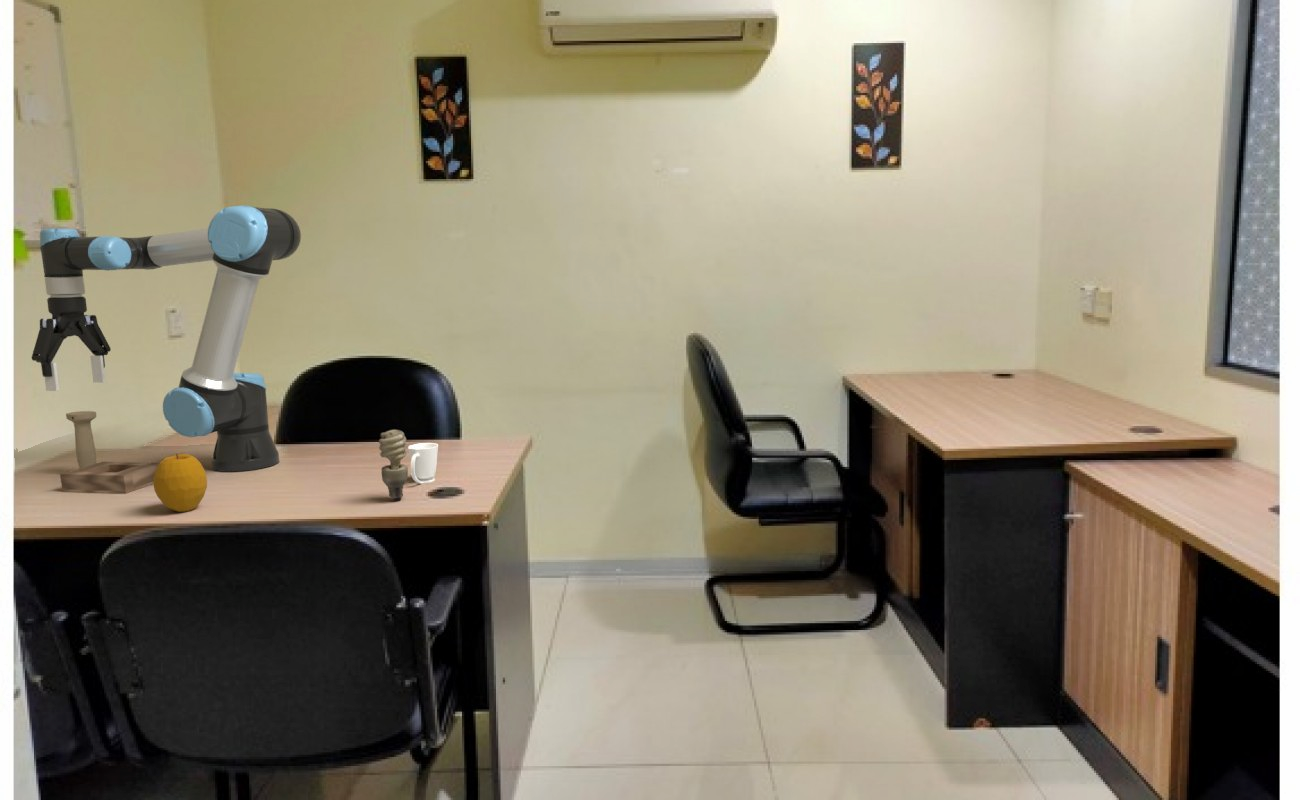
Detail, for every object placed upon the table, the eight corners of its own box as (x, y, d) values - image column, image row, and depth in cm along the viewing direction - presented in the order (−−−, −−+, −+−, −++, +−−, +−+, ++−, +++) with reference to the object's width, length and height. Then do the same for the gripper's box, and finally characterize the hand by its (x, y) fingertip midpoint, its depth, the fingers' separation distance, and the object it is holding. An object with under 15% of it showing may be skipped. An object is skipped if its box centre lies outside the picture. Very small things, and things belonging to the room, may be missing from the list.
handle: (90, 477, 206) (82, 415, 204) (69, 476, 208) (61, 414, 206) (108, 472, 211) (100, 411, 209) (86, 471, 213) (79, 410, 210)
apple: (171, 503, 182) (165, 448, 180) (218, 502, 183) (213, 447, 181) (147, 517, 172) (140, 459, 171) (197, 515, 173) (191, 458, 171)
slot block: (164, 479, 203) (163, 463, 202) (125, 493, 191) (123, 475, 190) (104, 478, 205) (102, 461, 205) (62, 491, 194) (60, 474, 193)
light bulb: (413, 501, 180) (409, 430, 178) (387, 505, 177) (382, 433, 175) (405, 495, 185) (400, 426, 183) (379, 499, 182) (374, 429, 180)
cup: (446, 477, 200) (444, 442, 199) (428, 488, 190) (426, 452, 189) (417, 476, 201) (414, 442, 200) (398, 487, 192) (395, 451, 190)
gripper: (94, 293, 216) (104, 378, 219) (4, 298, 191) (16, 394, 195) (121, 293, 214) (130, 379, 218) (34, 298, 190) (46, 394, 193)
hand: (76, 386), depth 206 cm, fingers open, 13 cm apart
